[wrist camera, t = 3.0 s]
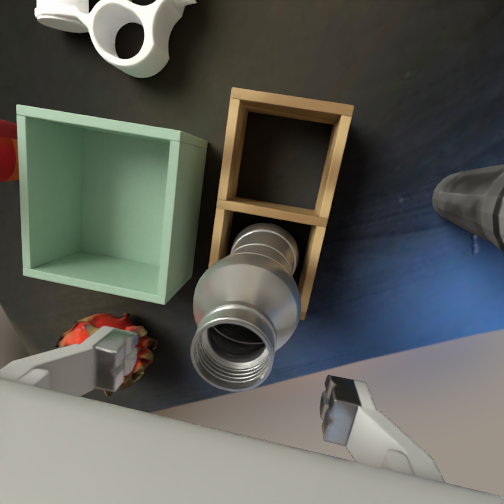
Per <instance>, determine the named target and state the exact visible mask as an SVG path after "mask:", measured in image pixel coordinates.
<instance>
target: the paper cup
mask: <svg viewBox="0 0 504 504" xmlns="http://www.w3.org/2000/svg"><path fill="white" fill-rule="evenodd" d="M12 180H19V159H18V135H17V124H15V123H11V122H8V121H4V120H0V182H2V181H12Z"/></svg>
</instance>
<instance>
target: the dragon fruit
mask: <svg viewBox="0 0 504 504" xmlns="http://www.w3.org/2000/svg"><path fill="white" fill-rule="evenodd" d="M128 315H129V316H130V314H128V313H123V314H122V315H121V316H120V317H122V318H117V317H114V316H112V315H110V314H106V313H100V314H95V315H93V316H90V317H87V318H84V319H82V320H77V321H75V323H76V325H74V327H73V328H72V329H70V330H69V331H67V332H65V333H64V334H63V335H62V336H61V337H60V339H59V341H58V343H57V344H56V346H55V347H59V348H62V347H66V346H70V345H73V344H81V343H82V342H83V341H85V340H86V339H87V338H88V337H90V336H91V335H92V334H93V333H95V332H96V331H97V330H98V329H100V328H101V327H102V326H108V327H113V328H117V329H121V330H126V331H130V332H134V333H137V334H138V335H139V343H138V344H137V345H136V346H135V348H136V349H137V351H138V356H137V361H136V364H135V366H134V368H133V370H132V371H131V373H130V374H128V375H126V376H124V381H123V383H122V384H121V385H120V386H119V387H118V388H119V389H121V390H124V389H125V388H126V387H131V385H133V383H134V382H136V380H137V381H138V379H139V378H140V377H142V376H143V374H144V370H145V369H148V368H149V366H151V365H152V363H153V362H152V361H153V353H152V352H151V351H150V350H149V349H147V347H148V346H150V345H153V346H152V347H151V348H152V350H154V349H155V348H156V347H157V341H155V340H154V339H153V338H151V337H148V336H146V335H147V333H148V332H147V331H146V330H145V329H144V327H143V326H134V325H133V323H132V320H131V319H130V318H129V316H128ZM104 392H105V394H106V396H107V397H108V396H111V395H112V394H113V392H112V391H107V390H104Z"/></svg>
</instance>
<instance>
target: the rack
mask: <svg viewBox="0 0 504 504" xmlns="http://www.w3.org/2000/svg"><path fill="white" fill-rule="evenodd" d="M353 110H354V105H347V104H340V103H334V102H327V101H320V100H313V99H307V98H300V97H293V96H287V95H280V94H273V93H267V92H260V91H253V90H247V89H240V88H233V87H232V91H231V99H230V106H229V114H228V122H227V129H226V137H225V144H224V152H223V160H222V167H221V175H220V183H219V190H218V199H217V206H216V214H215V221H214V229H213V237H212V244H211V252H210V259H209V267H208V269H209V268H210V267H211V266H212V265H213V264H215V263H216V262H217V261H219V260H221V259H223V258H225V257H227V253H228V246H229V239H230V232H231V225H232V218H233V212H234V211H236V212H242V213H247V214H253V215H258V216H264V217H269V218H275V219H280V220H286V221H292V222H297V223H303V224H308V225H311V229H310V234H309V238H308V243H307V248H306V252H305V257H304V261H303V266H302V270H301V275H300V280H299V284H298V290H299V294H300V299H301V317H300V319H301V320H305V316H306V312H307V308H308V304H309V299H310V295H311V291H312V286H313V282H314V278H315V273H316V269H317V265H318V261H319V256H320V252H321V248H322V243H323V239H324V235H325V230H326V226H327V222H328V217H329V213H330V209H331V204H332V200H333V196H334V191H335V187H336V183H337V179H338V174H339V170H340V166H341V161H342V157H343V153H344V148H345V144H346V140H347V135H348V131H349V127H350V123H351V118H352V114H353ZM248 111H249V112H255V113H261V114H268V115H274V116H281V117H287V118H294V119H300V120H307V121H313V122H319V123H326V124H332V125H333V129H332V133H331V138H330V142H329V147H328V151H327V156H326V161H325V165H324V170H323V174H322V179H321V183H320V188H319V193H318V197H317V202H316V206H315V210H309V209H304V208H298V207H292V206H287V205H281V204H275V203H270V202H264V201H258V200H253V199H247V198H242V197H236V191H237V185H238V178H239V171H240V164H241V157H242V151H243V144H244V137H245V130H246V123H247V116H248Z"/></svg>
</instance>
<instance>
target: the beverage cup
mask: <svg viewBox="0 0 504 504" xmlns="http://www.w3.org/2000/svg"><path fill="white" fill-rule="evenodd" d="M432 202H433V207H434V209H435V211H436V212H437V213H438V214H439V215H440V216H441V217H443V218H445V219H446V220H447V221H449V222H451V223H453V224H455V225H457V226H459V227H461V228H463V229H465V230H467V231H469V232H471V233H473V234H475V235H477V236H479V237H481V238H483V239H485V240H487V241H489V242H491V243H493V244H494V245H495V246H496V247H497V248H498V249H500V250H501V251H502V252H504V164H503V165H497V166H491V167H485V168H479V169H473V170H468V171H463V172H459V173H455V174H451V175H449V176H447V177H446V178H444V179H443V180H442V181H441V182H440V183H439V184H438V185H437V187H436V188H435V190H434V193H433V197H432Z"/></svg>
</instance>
